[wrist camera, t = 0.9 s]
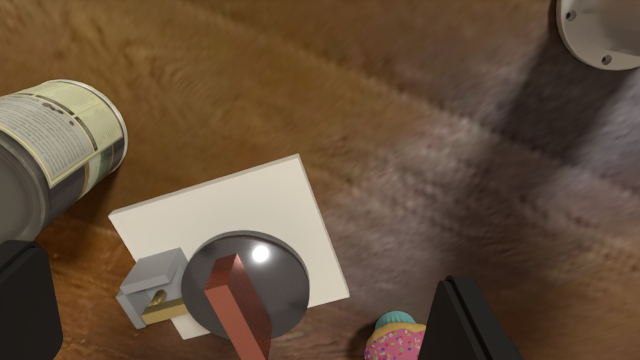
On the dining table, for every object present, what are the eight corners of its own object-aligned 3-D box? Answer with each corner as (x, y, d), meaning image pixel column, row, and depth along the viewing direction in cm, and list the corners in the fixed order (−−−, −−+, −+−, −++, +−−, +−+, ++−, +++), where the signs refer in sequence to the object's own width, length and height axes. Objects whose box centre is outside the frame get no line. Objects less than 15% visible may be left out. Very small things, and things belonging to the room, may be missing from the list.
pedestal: (298, 153, 42) (295, 178, 36) (348, 289, 49) (352, 328, 43) (109, 211, 44) (78, 243, 39) (182, 333, 51) (165, 375, 46)
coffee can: (136, 180, 43) (57, 260, 30) (35, 176, 43) (-87, 255, 30) (121, 80, 39) (22, 122, 26) (9, 75, 38) (-147, 115, 25)
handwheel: (287, 201, 40) (279, 253, 32) (325, 296, 44) (326, 362, 36) (130, 247, 42) (86, 306, 34) (182, 333, 46) (154, 403, 38)
